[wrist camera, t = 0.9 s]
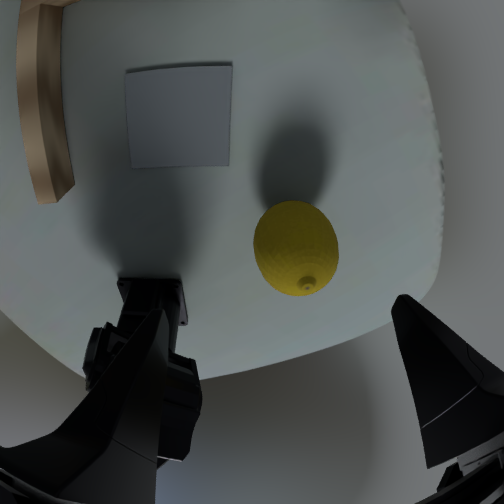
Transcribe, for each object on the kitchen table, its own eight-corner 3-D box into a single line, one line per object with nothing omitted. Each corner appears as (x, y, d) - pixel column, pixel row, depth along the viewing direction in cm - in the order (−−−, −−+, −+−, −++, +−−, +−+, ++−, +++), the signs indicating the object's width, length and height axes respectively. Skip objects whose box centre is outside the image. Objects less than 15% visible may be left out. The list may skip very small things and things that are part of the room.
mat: (228, 164, 19) (228, 166, 18) (133, 167, 18) (131, 168, 18) (232, 66, 14) (232, 66, 14) (126, 73, 14) (124, 73, 13)
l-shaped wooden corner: (235, 177, 19) (235, 196, 17) (56, 186, 18) (38, 204, 16) (248, -46, 9) (251, -64, 6) (45, -5, 8) (22, -8, 5)
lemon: (303, 170, 19) (339, 231, 13) (329, 226, 22) (363, 297, 16) (237, 203, 20) (239, 277, 14) (270, 253, 24) (283, 330, 17)
